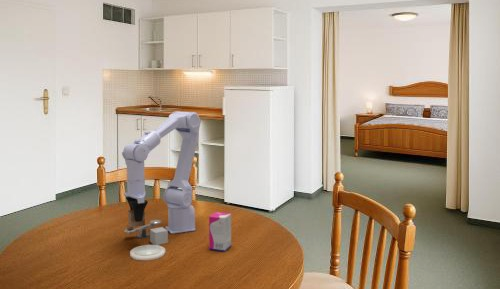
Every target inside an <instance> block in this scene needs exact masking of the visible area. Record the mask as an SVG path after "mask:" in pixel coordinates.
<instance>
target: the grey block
mask: <svg viewBox="0 0 500 289" xmlns="http://www.w3.org/2000/svg"><path fill="white" fill-rule="evenodd" d="M168 232H169V231H168V230H167V229H166V228H164V227H163V226H161V227H155V228H149V234H150V237H149V242H150V243H151V244H152V245H159V246H161V245H165V244H168V243H169V237H168Z"/></svg>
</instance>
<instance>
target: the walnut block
mask: <svg viewBox="0 0 500 289" xmlns="http://www.w3.org/2000/svg"><path fill="white" fill-rule="evenodd" d="M127 211H128V214H127V215H128V225H130V226H131V227H134V228H135V227H136V228H138V227H142V226H145V225H146V213H145V211H144V215H143V219H142V221H139V222H136V221H135V218H134V212H133V210H130V209H129V210H127Z"/></svg>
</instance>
